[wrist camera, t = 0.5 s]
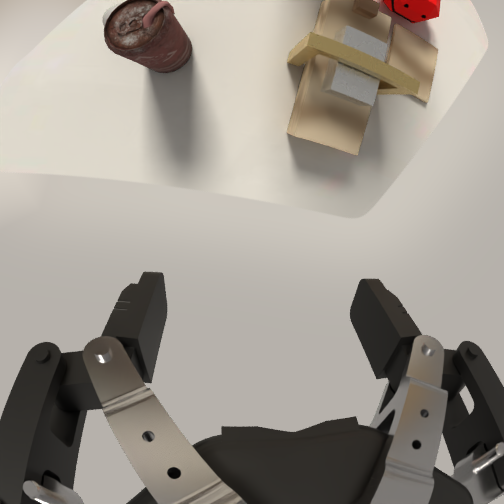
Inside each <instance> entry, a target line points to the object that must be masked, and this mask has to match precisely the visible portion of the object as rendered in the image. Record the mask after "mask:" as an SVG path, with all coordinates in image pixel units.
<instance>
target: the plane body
mask: <svg viewBox="0 0 504 504" xmlns="http://www.w3.org/2000/svg"><path fill="white" fill-rule="evenodd" d="M378 9H379V3H377V2H375V1H373V0H324V1H323V2H322V3H321V5H320V9H319V13H318V17H317V21H316V24H315V28H314V32H313V33H315V34H318V35H321V36H324V37H327V38H330V39H332V40H334V37H335V33H336V32H337V31H339V30H340V29H342V28H343V27H345V26H350V27H352V28H355V29H357V30H359V31H361V32H364V33H366V34H368V35H370V36H372V37H374V38H376V39H378V40H380V41H382V42H384V43H386V44H387V39H388V34H389V29H390V24H391V17H389V16H387V15H385V14H383V13H382V12H380V11H378ZM328 61H329V58H328V57H325V56H322V55H320V54H318V55H316V56H315V57H313V58H311V59H310V60H308V61H307V62H305V66H304V70H303V73H302V77H301V81H300V85H299V88H298V92H297V96H296V100H295V103H294V107H293V111H292V115H291V118H290V122H289V126H288V130H287V133H288V134H291V135H293V136H296V137H299V138H303V139H306V140H310V141H313V142H316V143H320V144H323V145H326V146H329V147H333V148H336V149H339V150H342V151H345V152H348V153H351V154H353V155H356V156H358V152H359V149H360V146H361V142H362V139H363V136H364V132H365V129H366V125H367V122H368V118H369V114H370V111H371V107H372V106H359V105H357V104H354V103H352V102H349V101H347V100H344V99H341V98H339V97H336V96H333V95H330V94H327V93H324V92H322V91H321V88H322V84H323V80H324V76H325V73H326V69H327V65H328Z"/></svg>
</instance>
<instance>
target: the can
mask: <svg viewBox="0 0 504 504" xmlns="http://www.w3.org/2000/svg"><path fill="white" fill-rule="evenodd" d="M174 14H175V13H174V9H173V7H172V6H171V5H170V4H169V2H167V1H162V0H127V1H125V2H123V3H122V4H120V5H119V6H118V7H116V8H115V9H114V10H113V11H112V12H111V14H110V15H109V17H108V19H107V20H106V23H105V27H104V37H105V42H106V44H107V46H108V48H109V49H110V50H112V51H113V52H114V53H115V54H118V55H120V56H123V57H125V58H127V59H130V60H132V61H134V62H136V63H139V64H141V65H143V66H145V67H148V68H150V69H152V70H154V71H157V72H160V73H168V72H173V71H175V70H177V69H179V68H181V67H182V66H183V65H184V64H185V63H186V62H187V61H188V59H189V58H190V56H191V52H192V45H191V41H190V39H189V38H188V36H187V34H186V33H185V31H184V30H183V28H182V27H181V25H180V24H179V22H178V21H177V19H176V17H175V16H174Z"/></svg>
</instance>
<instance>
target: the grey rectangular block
mask: <svg viewBox="0 0 504 504" xmlns="http://www.w3.org/2000/svg"><path fill="white" fill-rule="evenodd" d="M334 40H335V41H338V42H340V43H343V44H345V45H348V46H350V47H352V48H355V49H357V50H359V51H362V52H364V53H366V54H368V55H370V56H373V57H375V58H377V59H379V60H381V61H383V62H384V61H385V56H386V51H387V47H388V44H386V43H384V42H382V41H380V40H378V39H376V38H374V37H372V36H370V35H368V34H366V33H364V32H361V31H359V30H357V29H355V28H352V27H350V26H345V27H343V28H342V29H340V30H339V31H337V32H336V33H335V37H334ZM379 82H380V79H378V78H376V77H374V76H372V75H370V74H368V73H365V72H363V71H361V70H358V69H356V68H354V67H351V66H349V65H346V64H344V63H341V62H339V61H336V60H333V59H331V58H329V61H328V65H327V69H326V73H325V76H324V80H323V84H322V88H321V91H322V92H324V93H327V94H330V95H333V96H336V97H339V98H341V99H344V100H347V101H349V102H352V103H354V104H357V105H359V106H373V105H374V102H375V98H376V94H377V90H378V86H379Z"/></svg>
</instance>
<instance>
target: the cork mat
mask: <svg viewBox="0 0 504 504" xmlns="http://www.w3.org/2000/svg"><path fill="white" fill-rule="evenodd" d="M437 53H438V49H437V48H435V47H434V46H432V45H431V44H429V43H428V42H426V41H425V40H423V39H422V38H420V37H419V36H417V35H415V34H414V33H412V32H411V31H409V30H407V29H405V28H404V27H402V26H400V25H398V24H395V25H394V28H393V33H392V39H391V44H390V48H389V53H388V58H387V62H386V63H387V64H389V65H391V66H393V67H395V68H397V69H398V70H400V71H402V72H404V73H406V74H407V75H409V76H411V77H413V78H414V79H416V80H418V81H419V82H420V86H419V90H418V95H413V94H411V95H413V96H415V97H416V98H418V99H420V100H422V101H423V102H426V103H428V100H429V95H430V91H431V86H432V81H433V76H434V71H435V65H436V59H437Z"/></svg>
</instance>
